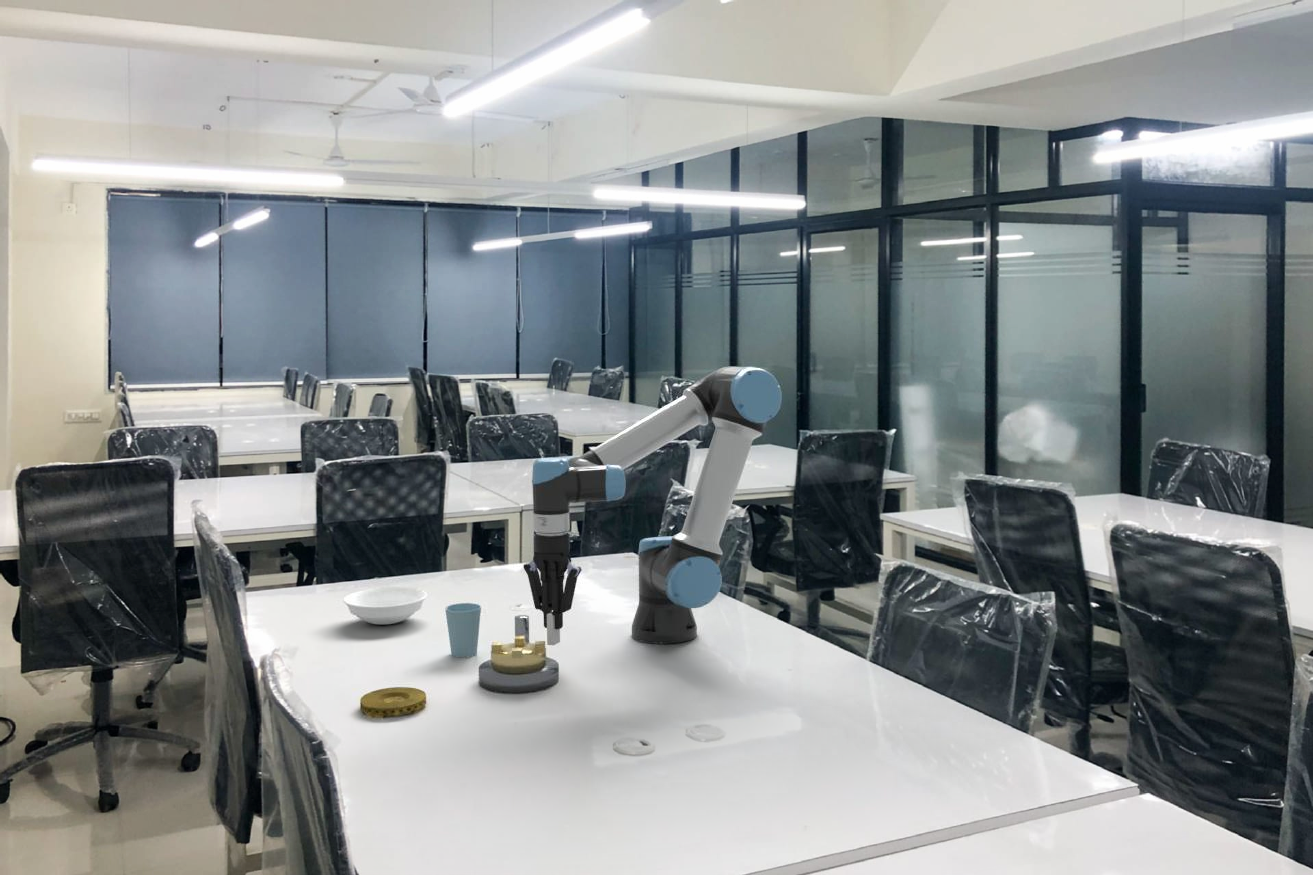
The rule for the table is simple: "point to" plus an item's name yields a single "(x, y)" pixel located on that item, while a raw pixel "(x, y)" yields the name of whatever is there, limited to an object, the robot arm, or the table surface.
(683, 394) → the robot arm
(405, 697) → the gold gear disc
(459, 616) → the cup
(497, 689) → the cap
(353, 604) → the bowl
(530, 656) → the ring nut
